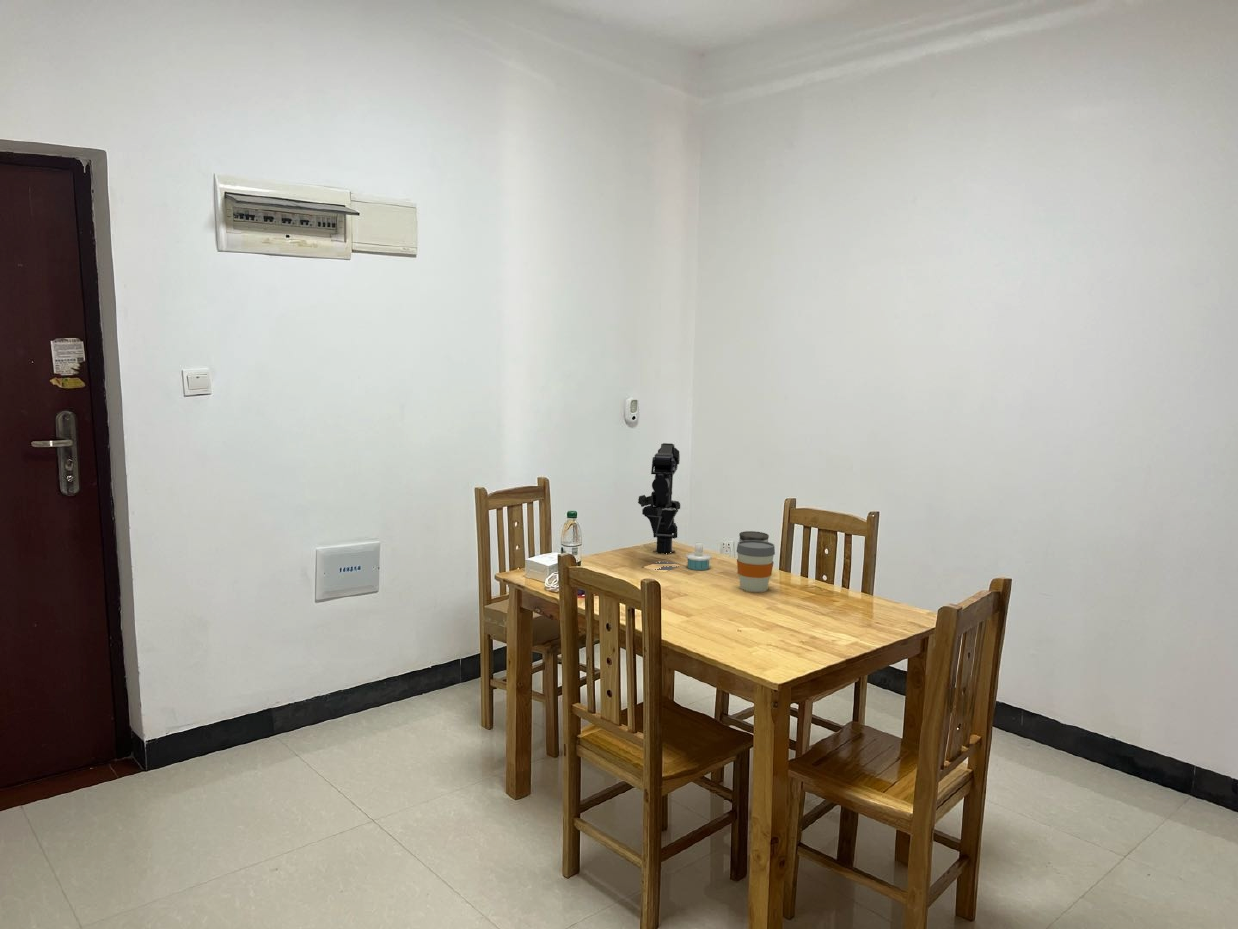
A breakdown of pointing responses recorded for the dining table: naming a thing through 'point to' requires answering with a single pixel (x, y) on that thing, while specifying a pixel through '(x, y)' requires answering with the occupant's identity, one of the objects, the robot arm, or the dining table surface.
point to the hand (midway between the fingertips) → (660, 531)
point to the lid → (698, 553)
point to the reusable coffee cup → (755, 564)
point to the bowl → (698, 565)
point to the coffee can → (753, 536)
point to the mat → (666, 566)
